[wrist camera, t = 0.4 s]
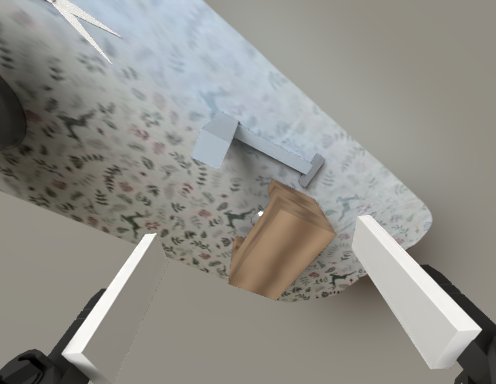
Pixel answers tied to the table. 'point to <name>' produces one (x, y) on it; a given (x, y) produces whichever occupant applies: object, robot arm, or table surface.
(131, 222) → the table surface
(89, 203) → the table surface
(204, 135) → the push tool
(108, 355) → the robot arm
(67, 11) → the scissors
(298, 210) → the wooden arch block
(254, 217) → the steel token
